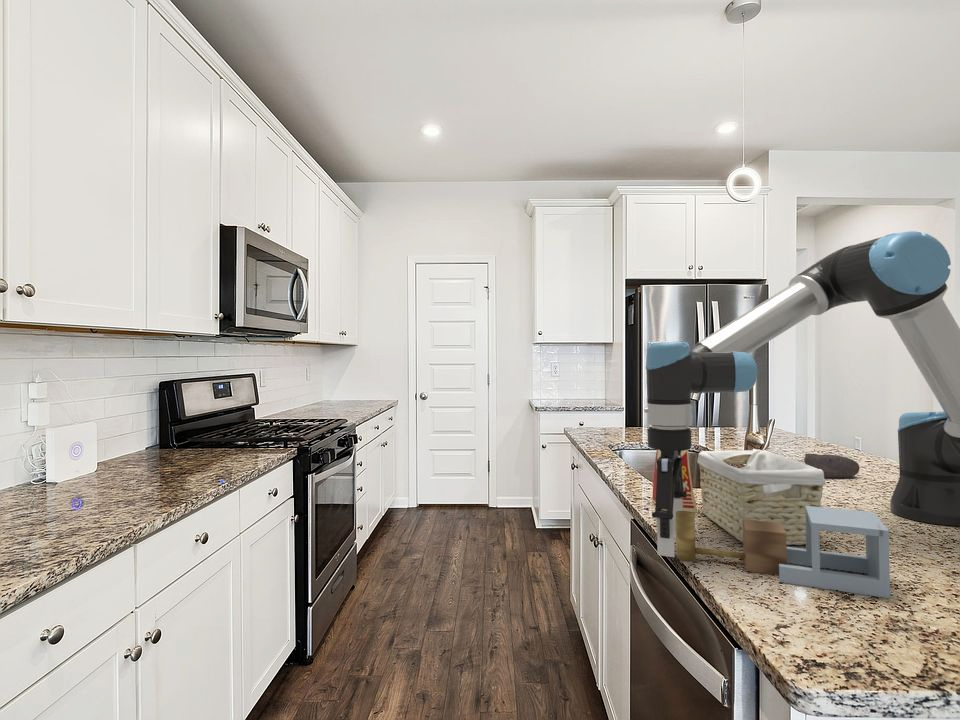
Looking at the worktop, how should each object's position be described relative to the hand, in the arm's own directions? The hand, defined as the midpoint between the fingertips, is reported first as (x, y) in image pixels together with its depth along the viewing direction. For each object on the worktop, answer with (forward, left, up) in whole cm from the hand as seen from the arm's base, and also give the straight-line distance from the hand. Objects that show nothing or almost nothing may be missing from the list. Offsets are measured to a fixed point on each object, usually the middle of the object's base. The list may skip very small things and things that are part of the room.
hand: (671, 543), depth 97 cm
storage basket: (-14, -23, -3) cm, 27 cm away
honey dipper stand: (-9, 0, -2) cm, 10 cm away
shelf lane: (-24, 0, -2) cm, 24 cm away
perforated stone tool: (-34, -82, -3) cm, 89 cm away
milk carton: (+4, -34, -2) cm, 34 cm away
